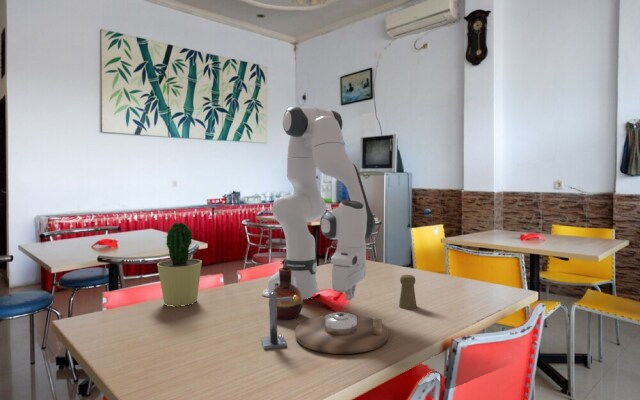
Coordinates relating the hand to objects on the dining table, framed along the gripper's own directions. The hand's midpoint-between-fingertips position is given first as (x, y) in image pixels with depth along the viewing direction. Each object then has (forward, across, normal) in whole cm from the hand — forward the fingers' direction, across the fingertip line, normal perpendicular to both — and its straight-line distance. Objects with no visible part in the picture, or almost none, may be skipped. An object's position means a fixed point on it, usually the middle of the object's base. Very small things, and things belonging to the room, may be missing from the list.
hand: (349, 298), depth 125 cm
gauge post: (+8, +22, -11) cm, 26 cm away
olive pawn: (+8, -23, +13) cm, 28 cm away
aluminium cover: (+5, +12, +2) cm, 13 cm away
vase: (+9, +2, -21) cm, 23 cm away
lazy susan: (+7, +11, +2) cm, 13 cm away
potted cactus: (+10, +4, -64) cm, 65 cm away
